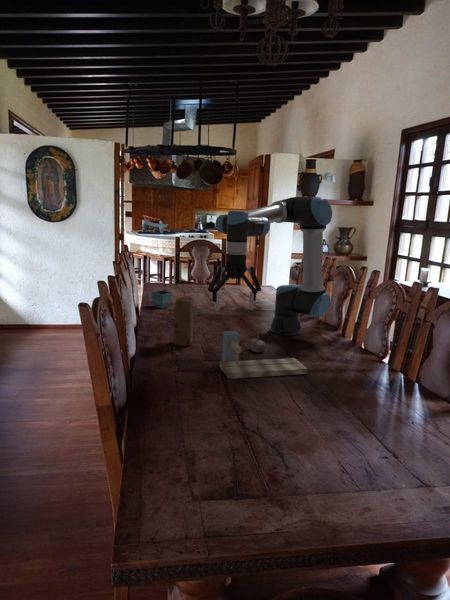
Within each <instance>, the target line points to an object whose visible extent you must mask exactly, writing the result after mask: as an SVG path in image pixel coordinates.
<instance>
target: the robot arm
mask: <svg viewBox="0 0 450 600" xmlns="http://www.w3.org/2000/svg"><path fill="white" fill-rule="evenodd" d="M332 218H333V208H332V205H331V203H330V202H329V200H328V199H327V198H325V197H321V196H320V197H319V196H291V197H287V198H284V199H281V200H277V201H274V202H272V203H271V204H270V205H266V206H261V207H258V208H257V207H256V208H253V209H249V210H229V211H228V213H227V214H226V213H225V214H220V215H218V216H217V218H216V220H215V230H216V231H217V232H218V233H220V234H224V235H226V246H225V247H226V249H225V253H226V254H225V266H220V265H218V266H217V267H216V271H215V274H214V275H213V278H212V279H211V281H210V283H209V285H208V287H207V291H208V292H210V293H211V295H212V297H211V300H212V302H213V303H214V311H216V312H218V311H219V303H220V302H219V297H220V294H219V291H220V289H222V287H223V286H224V285H225V284H226V283H227V281H228V280H230V279H232V280H235V279H237V280H240V279H242V280H243V282H244V283H245V284H246V285H247V287H248V288H249V289H250V292H249V296H248V297H249V299H248V309H249V311H254V302H256V299H257V294H258V292H261V291H262V288H261V285H260V283H259V280H258V278H257V276H256V274H255V267H254V266H252V265H250V266H247V254H246V253H247V252H248V237H250V238H251V237H258V238H260V237H265V236H266V235H268V234H269V232H270V230H271V229H270V228H271V224H273V223H277V224H281V223H282V224H283V223H292V224H299V230H300V231H301V232H302V285H300V284H283V285H282V284H281V285H279V286H277V288H276V291H275V292H276V293H275V301H274V302H275V305H274V307H275V308H274V317H273V318H272V321H271V324H270V328H269V331H270V332H271V333H272V334H275V335H280V336H288V337H289V336H297V335H300V334H302V326H301V322H300V315H304V316H307V317H311V318H318V319H319V318H322V317H323V316H326V314H327V312H328V310H329V308H330V305H331V296H330V294H329V293H327V292H326V286H324V285H323V252H324V251H323V249H324V248H323V246H324V243H323V239H324V238H323V237H324V231H325V230H326V229H327V225H329V224H330V222H331V221H332ZM223 272H225V274H224V276H223V277H221V275H222V273H223ZM246 272H248V273H249V276H250V279H251V280H252V282H253V283H252V282H250V280H249V278H248V277H247V276H246ZM220 277H221V279H220ZM219 279H220V281H219V282H218V280H219ZM217 282H218V283H217ZM253 284H254V285H253Z"/></svg>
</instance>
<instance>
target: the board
mask: <svg viewBox="0 0 450 600" xmlns="http://www.w3.org/2000/svg"><path fill="white" fill-rule="evenodd" d="M219 368H220V370H221V371H222V372H223V374H224V375H225V376H226V377H227V379H245V378H246V379H247V378H261V377H262V378H263V377H264V378H265V377H275V376H276V377H277V376H278V377H279V376H295V375H308V371H309V370H308V367H306V366H305V365H304V364H302V363H301V362H300V361H299V360H298V359H296V358H295V357H287V358H270V359H269V358H268V359H251V360H249V359H248V360H247V359H246V360H238V364H236V361H225V362H222V361H219Z"/></svg>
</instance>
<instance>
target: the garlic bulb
mask: <svg viewBox="0 0 450 600" xmlns="http://www.w3.org/2000/svg"><path fill="white" fill-rule="evenodd" d="M256 334H257V335H256V338H253V339H251V341H250V342H249V347H250V349H251V351H252V352H254V353H264V351H265V350H266V343H265V341H264V340H261V339H260V335H261V332H259V331H258V332H257V333H256Z"/></svg>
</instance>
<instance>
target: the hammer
mask: <svg viewBox="0 0 450 600" xmlns="http://www.w3.org/2000/svg"><path fill="white" fill-rule="evenodd" d="M222 335H223V336H222V353H221V357H222V358H221V362H225V361H236V364H238V361H239V357H240V354H241V353H242V352H243V351H242V349H243V347H242V346H241V345H240V336H241V334H240V333H238V331H236V330H229V331H228V330H224V331H223V332H222Z"/></svg>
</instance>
